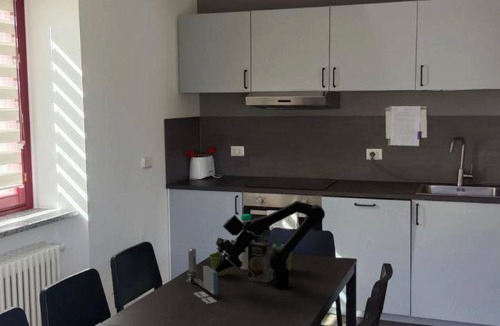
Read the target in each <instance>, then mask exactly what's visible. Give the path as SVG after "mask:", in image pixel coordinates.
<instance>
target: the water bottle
mask: <svg viewBox="0 0 500 326" xmlns="http://www.w3.org/2000/svg"><path fill="white" fill-rule="evenodd" d="M240 221H241V222H242V223H243V222H249V221H252V214H250V213H243V214H241V216H240ZM242 231H243V230H242ZM242 231H241V232H242ZM241 232H240V233H239V234H238V236H239V235H240V234H241ZM247 232H249V231H247ZM250 232H251V231H250ZM251 233H252V232H251ZM253 234H254V233H253ZM254 235H255V234H254ZM252 242H254V240H253V241H252ZM238 258H239V260H240V261H241V262H242V266H241V267H240V269H241V270H243V271H248V247H247V248H246V249H245V253H244V252H242V253H241V254H240V256H239V257H238Z"/></svg>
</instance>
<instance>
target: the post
mask: <svg viewBox="0 0 500 326" xmlns="http://www.w3.org/2000/svg"><path fill="white" fill-rule="evenodd" d="M187 251H188V252H187V253H188V256H187V258H188V272H187V273H186V275H187V276H188V278H187V279H185V282H186V283H187V284H189V285H190V284H197V283H196V282H194V277H197V276H199V272H198V271H197V249H196V248H189V249H188V250H187Z"/></svg>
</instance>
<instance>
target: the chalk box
mask: <svg viewBox="0 0 500 326" xmlns="http://www.w3.org/2000/svg"><path fill="white" fill-rule="evenodd" d="M272 244H273V246H272V252H273V251H274V250H275V248H276V247H277V248H278V249H280V248H281V247H283V245H284V244H285V243H281V239H280V237H277V238H276V239H275V243H272ZM292 252H293V251H292ZM292 252H291V253H290V254H289V256H288V259H287V261H286V263H287V264H288V268H289V272H290V271H292V269H293V266H292V264H293V263H292V262H293V258H292V257H293V256H292ZM274 271H275V270H273V269H272V274H274Z"/></svg>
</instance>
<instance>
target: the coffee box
mask: <svg viewBox="0 0 500 326" xmlns="http://www.w3.org/2000/svg"><path fill="white" fill-rule="evenodd" d="M273 244H274V243H273V242H265V241H258V242H255V241H254V242H251V243H250V244H249V245H248V270H247V275H248V276H247V278H248V281H251V282H252V281H253V282H259V283H266V284H267V283H269V282H270V281H272V280H273V273H272V268H271V267H270V262H269V258H270V254H271V253H272V246H273Z"/></svg>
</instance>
